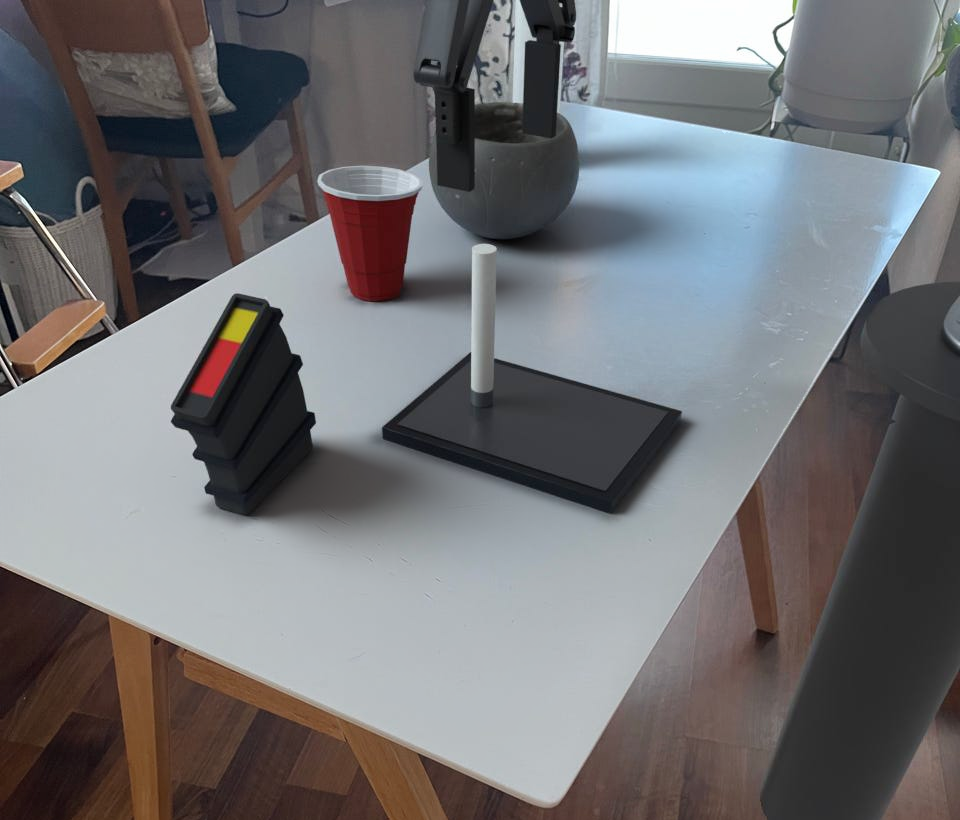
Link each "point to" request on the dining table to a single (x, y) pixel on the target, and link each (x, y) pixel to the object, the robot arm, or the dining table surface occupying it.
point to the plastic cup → (371, 225)
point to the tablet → (538, 431)
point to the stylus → (483, 324)
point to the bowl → (512, 175)
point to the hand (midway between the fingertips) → (499, 160)
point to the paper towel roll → (519, 55)
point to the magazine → (245, 405)
